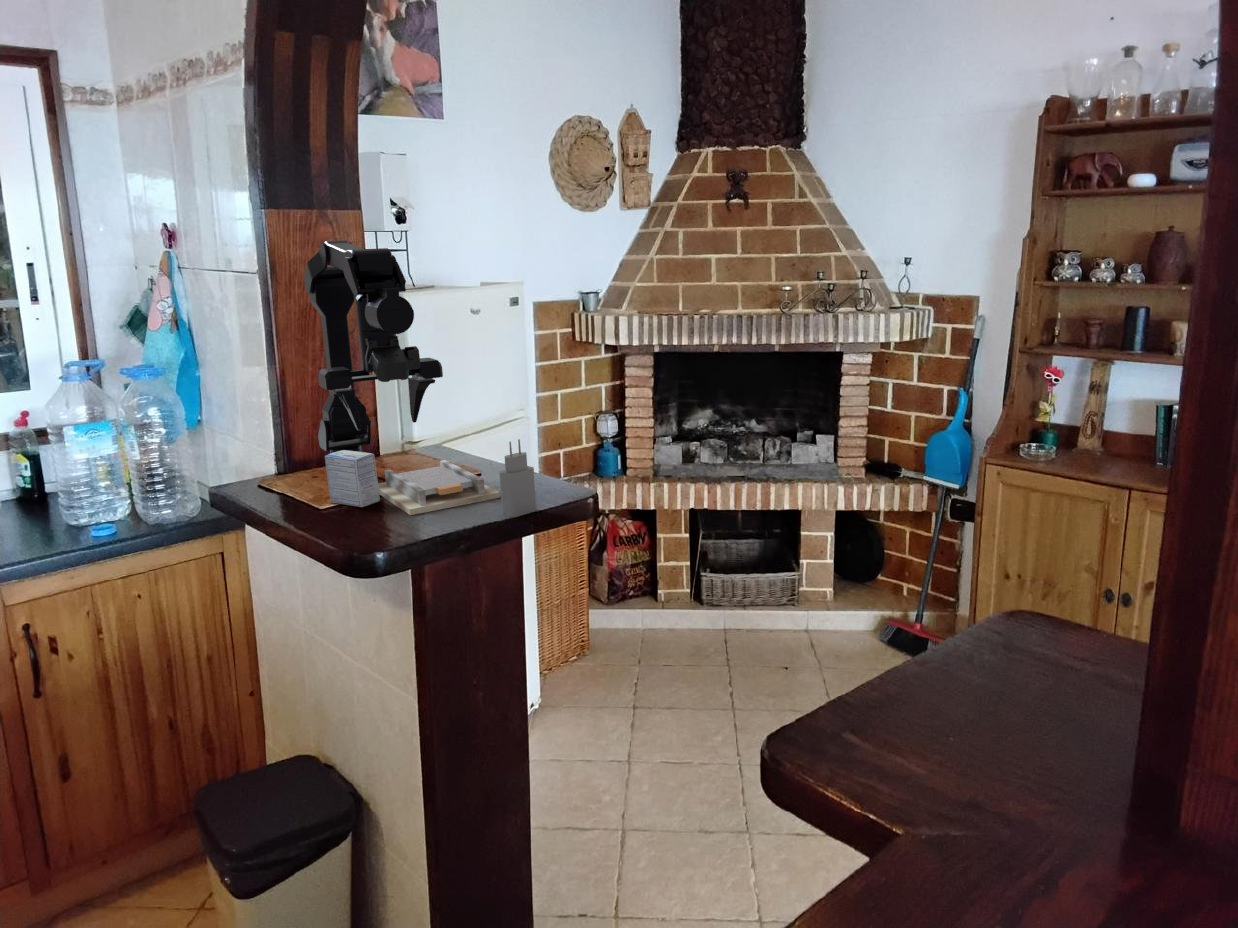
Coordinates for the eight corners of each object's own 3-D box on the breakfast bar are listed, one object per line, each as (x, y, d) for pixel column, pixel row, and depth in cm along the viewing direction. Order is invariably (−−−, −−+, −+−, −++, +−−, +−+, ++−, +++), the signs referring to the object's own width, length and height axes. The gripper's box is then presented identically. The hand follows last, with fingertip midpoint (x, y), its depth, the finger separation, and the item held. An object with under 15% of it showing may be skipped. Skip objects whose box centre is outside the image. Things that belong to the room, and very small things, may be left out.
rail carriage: (396, 479, 167) (395, 473, 167) (443, 470, 171) (442, 465, 171) (426, 497, 154) (425, 492, 154) (476, 488, 158) (476, 482, 158)
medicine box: (380, 501, 160) (375, 453, 158) (361, 508, 157) (355, 459, 154) (349, 496, 164) (343, 449, 162) (329, 503, 161) (323, 454, 159)
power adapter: (538, 509, 151) (533, 438, 149) (512, 517, 148) (507, 444, 145) (525, 506, 154) (521, 436, 151) (500, 514, 150) (495, 442, 147)
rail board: (373, 489, 168) (370, 471, 167) (455, 475, 176) (454, 457, 175) (410, 515, 151) (408, 494, 151) (499, 497, 159) (498, 478, 159)
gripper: (329, 339, 136) (341, 442, 139) (450, 328, 144) (458, 426, 148) (312, 333, 145) (324, 430, 149) (427, 323, 154) (435, 415, 158)
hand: (386, 425), depth 151 cm, fingers open, 9 cm apart
